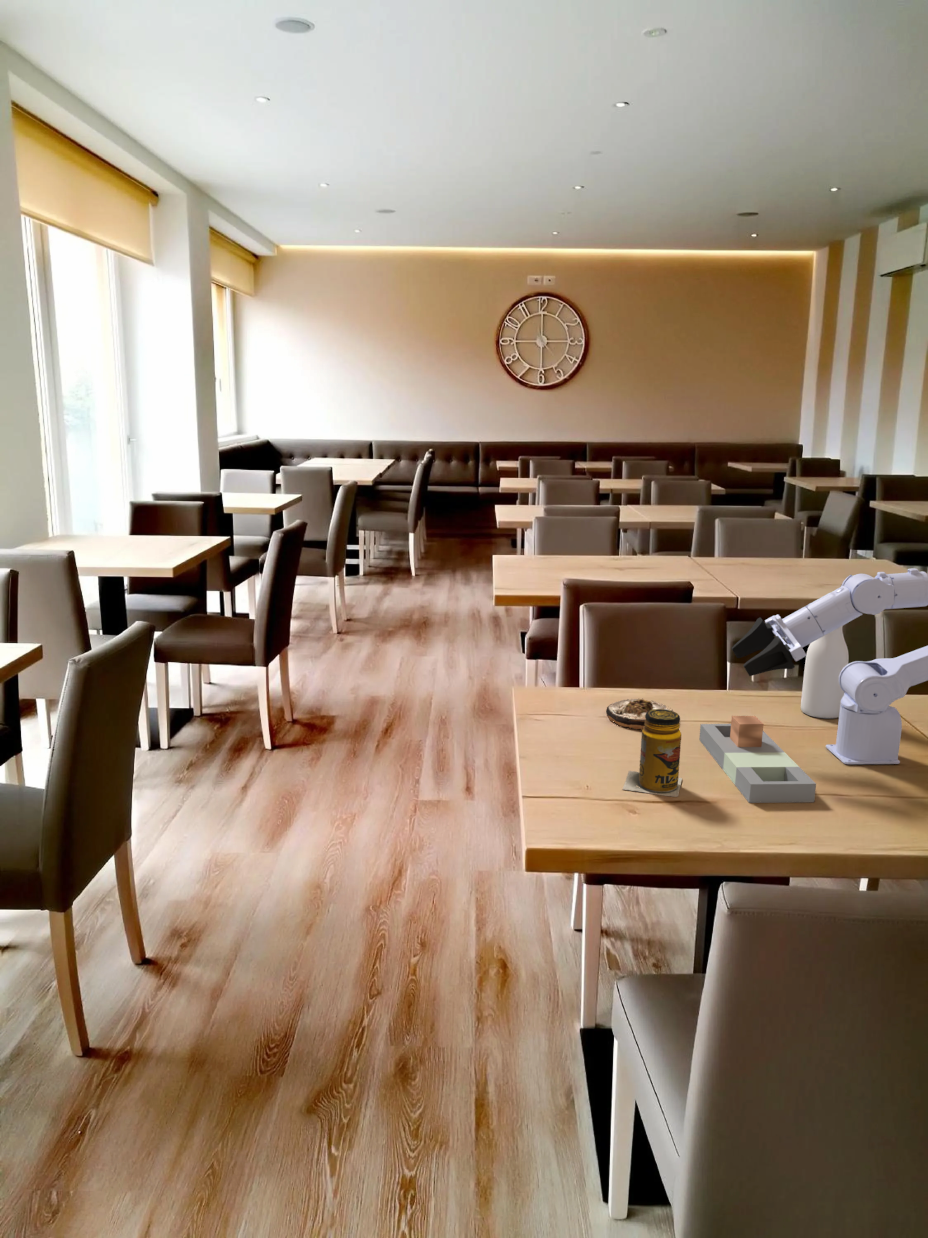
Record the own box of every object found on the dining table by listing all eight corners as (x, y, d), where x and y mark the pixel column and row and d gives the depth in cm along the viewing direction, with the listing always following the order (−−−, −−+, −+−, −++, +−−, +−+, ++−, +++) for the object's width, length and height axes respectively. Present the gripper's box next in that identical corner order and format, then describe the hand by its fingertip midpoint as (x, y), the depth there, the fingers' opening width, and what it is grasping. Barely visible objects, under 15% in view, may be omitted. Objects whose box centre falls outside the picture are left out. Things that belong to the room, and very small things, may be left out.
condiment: (677, 798, 143) (683, 723, 140) (622, 790, 145) (626, 717, 142) (682, 779, 150) (687, 708, 147) (628, 772, 152) (632, 702, 149)
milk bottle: (848, 720, 177) (860, 617, 173) (808, 719, 178) (818, 616, 173) (833, 706, 185) (844, 608, 180) (794, 706, 185) (804, 607, 180)
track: (754, 739, 167) (756, 723, 166) (814, 802, 142) (816, 783, 141) (699, 740, 166) (700, 724, 166) (749, 802, 141) (750, 784, 140)
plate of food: (628, 740, 167) (629, 718, 166) (585, 714, 181) (586, 693, 180) (696, 729, 173) (698, 707, 172) (650, 704, 186) (651, 684, 185)
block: (753, 738, 159) (755, 715, 158) (761, 746, 155) (763, 724, 154) (729, 738, 159) (731, 716, 158) (737, 747, 155) (739, 724, 154)
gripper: (789, 588, 161) (718, 627, 163) (818, 617, 147) (740, 659, 150) (807, 620, 163) (737, 659, 165) (837, 652, 149) (760, 693, 152)
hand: (740, 661), depth 158 cm, fingers open, 7 cm apart
